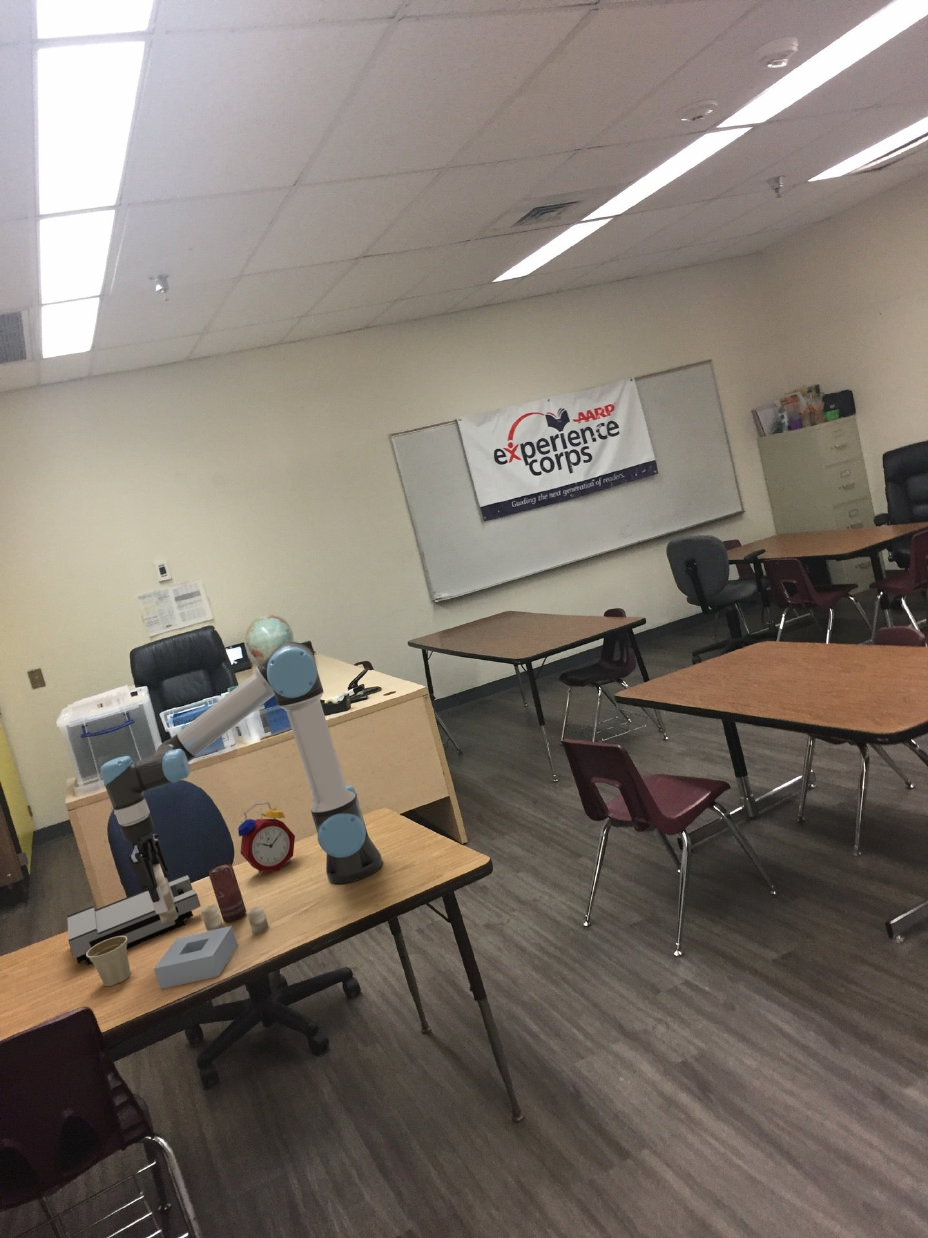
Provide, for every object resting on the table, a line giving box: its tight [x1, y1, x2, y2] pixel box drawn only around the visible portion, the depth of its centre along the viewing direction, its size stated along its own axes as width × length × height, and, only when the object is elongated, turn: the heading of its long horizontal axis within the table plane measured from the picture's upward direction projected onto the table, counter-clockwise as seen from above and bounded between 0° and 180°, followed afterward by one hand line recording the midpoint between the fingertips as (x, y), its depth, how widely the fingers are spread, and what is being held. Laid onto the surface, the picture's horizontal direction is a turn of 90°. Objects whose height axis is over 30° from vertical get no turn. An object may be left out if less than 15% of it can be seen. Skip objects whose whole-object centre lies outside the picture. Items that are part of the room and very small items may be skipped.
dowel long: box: [152, 864, 178, 924], centre depth 226 cm, size 4×4×14 cm
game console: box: [67, 873, 202, 966], centre depth 245 cm, size 21×32×8 cm, turn 114°
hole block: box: [154, 925, 239, 990], centre depth 213 cm, size 14×14×5 cm
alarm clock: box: [237, 801, 296, 877], centre depth 265 cm, size 15×9×20 cm, turn 123°
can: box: [208, 862, 247, 924], centre depth 236 cm, size 6×6×14 cm
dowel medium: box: [200, 904, 225, 932], centre depth 226 cm, size 4×4×8 cm
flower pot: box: [86, 936, 132, 987], centre depth 218 cm, size 9×9×9 cm
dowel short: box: [246, 906, 270, 935], centre depth 225 cm, size 4×4×5 cm
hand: (165, 907), depth 226 cm, fingers closed on dowel long, 4 cm apart
